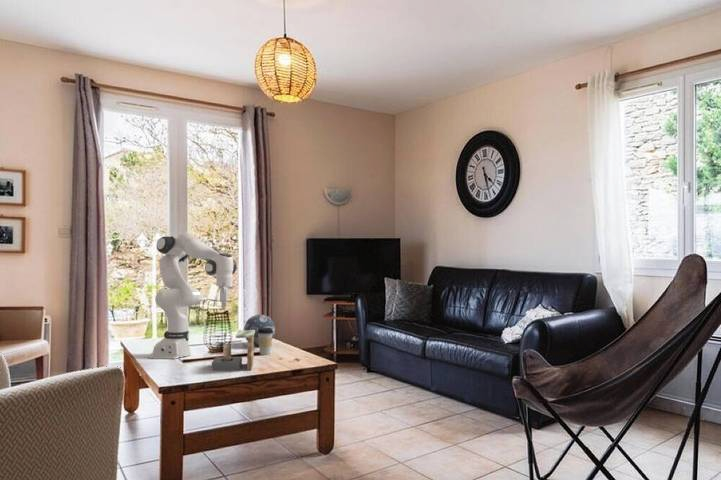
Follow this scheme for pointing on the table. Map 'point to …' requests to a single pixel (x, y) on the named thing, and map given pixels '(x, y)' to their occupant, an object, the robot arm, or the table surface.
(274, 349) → the table surface
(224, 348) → the beech peg
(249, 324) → the decorative ball
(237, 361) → the socket
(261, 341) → the coffee cup
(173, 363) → the table surface
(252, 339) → the awning
